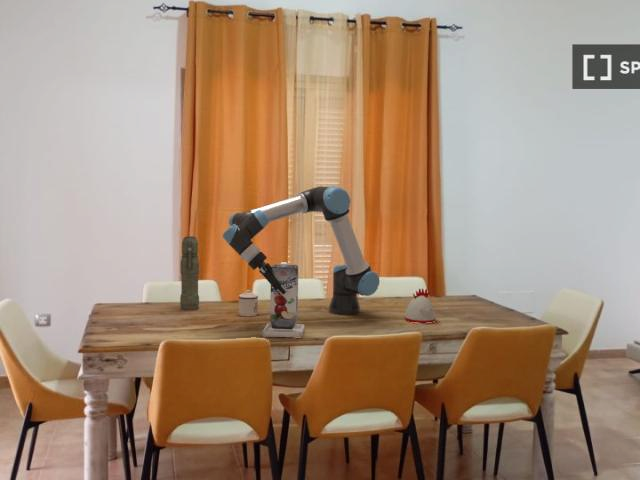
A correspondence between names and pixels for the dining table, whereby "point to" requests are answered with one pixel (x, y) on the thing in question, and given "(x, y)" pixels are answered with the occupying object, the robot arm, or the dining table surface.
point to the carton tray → (283, 331)
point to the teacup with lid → (248, 304)
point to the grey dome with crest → (420, 308)
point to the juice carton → (280, 308)
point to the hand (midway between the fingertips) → (292, 296)
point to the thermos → (189, 274)
